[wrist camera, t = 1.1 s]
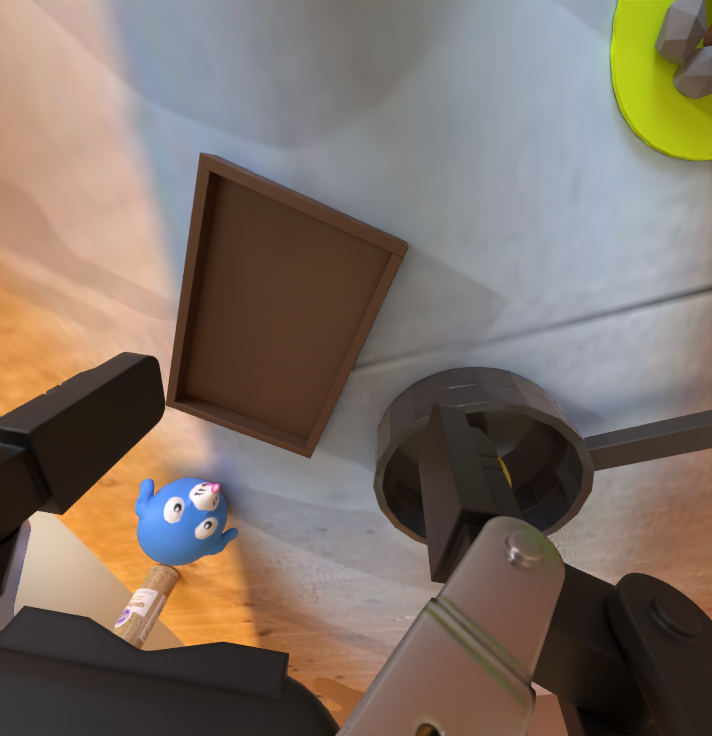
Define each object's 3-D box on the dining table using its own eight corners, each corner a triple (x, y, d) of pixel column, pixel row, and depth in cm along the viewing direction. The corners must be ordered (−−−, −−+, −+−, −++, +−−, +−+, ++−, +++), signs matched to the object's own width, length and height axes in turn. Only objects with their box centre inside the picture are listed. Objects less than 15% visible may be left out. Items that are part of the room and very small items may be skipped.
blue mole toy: (280, 483, 38) (253, 554, 31) (229, 528, 43) (195, 599, 36) (188, 424, 35) (134, 487, 28) (145, 480, 40) (89, 546, 33)
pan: (428, 336, 28) (435, 367, 23) (605, 411, 29) (647, 455, 25) (351, 472, 36) (344, 516, 31) (492, 524, 38) (507, 573, 33)
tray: (215, 155, 23) (199, 152, 21) (407, 242, 24) (408, 246, 22) (178, 392, 33) (165, 405, 31) (314, 444, 35) (310, 459, 33)
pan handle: (580, 460, 28) (588, 472, 27) (577, 439, 27) (585, 451, 26) (739, 427, 25) (757, 439, 24) (742, 402, 24) (761, 413, 23)
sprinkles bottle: (160, 559, 48) (84, 679, 36) (186, 574, 49) (121, 695, 38) (145, 569, 50) (69, 687, 38) (171, 584, 51) (105, 702, 39)
